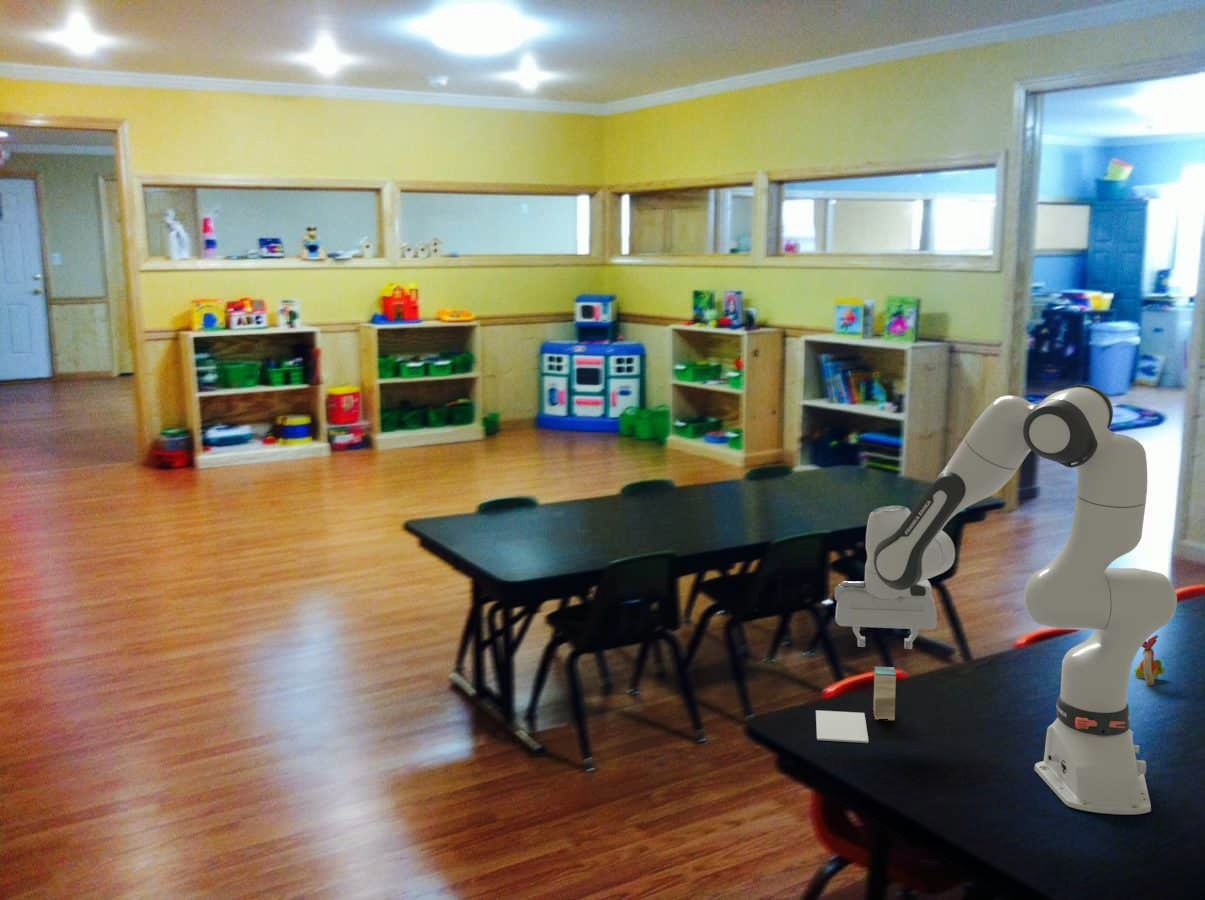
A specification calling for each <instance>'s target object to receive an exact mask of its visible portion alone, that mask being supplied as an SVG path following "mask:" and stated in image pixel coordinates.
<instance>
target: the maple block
mask: <svg viewBox="0 0 1205 900" xmlns="http://www.w3.org/2000/svg"><path fill="white" fill-rule="evenodd" d="M873 677H874V678H873V679H874V680H873V711H874V712H873V716H874V717H875V718H874V720H879V719H888V720H887V721H895V718H896V715H895V714H896V688H897V687H896V682H897V674H896V669H895V667H893V666H892V667H890V666H874V674H873Z"/></svg>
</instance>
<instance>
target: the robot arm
mask: <svg viewBox="0 0 1205 900" xmlns="http://www.w3.org/2000/svg"><path fill="white" fill-rule="evenodd" d="M1113 416H1114V409H1113V405H1112V402H1111V400H1110V399H1109V397H1108V395H1107V394H1106V393H1105V392H1103V390H1101V389H1099V388H1097V387H1094V386H1091V385H1085V384H1078V385H1077V384H1076V385H1070V386H1068V387H1065V388H1063V389H1061V390H1058V391H1055V392H1054V393H1051V394H1050V395H1048V396H1046V397H1045V398H1043V399H1042V401H1040V402H1038V403H1032V402H1030V401H1029V400H1027V399H1025V398H1023V397H1021V396H1017V395H1010V394H1009V395H1007V394H1006V395H1002V396H999V397H998V398H996V399H994V400H993V401H992V402H991V403H990V404H989V405H988V406H987V407H986V408H985V410H983V412H982V413H981V414H980V415H979V417H977V419H976V420H975V421H974V423H973V424H972V425H971V427H970V429H969V430H968V432H967V433H966V435H965V436H964V437H963V439H962V441H961V442H960V444H959V445H958V447H957V449H956V450H955V452H954V453H953V455H952V456H951V458H950V459H949V461H948V463H947V464H946V466H945V467H944V468H943V469H942V471H941V472H940V473H939V475H938V476H937V478H936V479H935V480H934V481H933V483H932V484H931V486H930V487H929V488H928V489H927V491H926V492H925V493H924V494H923V495H922V497H921V499H920V500H919V501H918V502H917V504H916V505H915V506H914V507H913V509H912V511H911V510H910V509H909V508H908V507H906V506H903V505H900V504H899V505H888V506H880V507H877V508H875V509H873V510H872V511H871V512H870V513H869V515H868V517H867V519H868V520H867V525H866V532H865V551H866V562H865V565H864V581H848V580H845V581H842V582H841V583H838V584H837V585H836V586H835V588H834V599H835V601H836V608H835V622H836V624H838V626H840V627H852V631H853V634H854V635H855V637H856V639H857V647H858V648H859V647H861V648H865V647H866V637H865V636H863V635H861V633H860V632H861V631H860V630H861V628H878V629H880V628H882V629H884V628H885V629H904V630H905V629H907V630H910V633H911V634H910V635H909V636H908V637H907V638H906V637H904V640H903V641H904V646H903V647H904V649H905V650H906V649H907V650H908V649H909V650H913V642H914V641H915V640H916V638H917V637H918V635H919V630H930V631H932V630H934V629H935V628H936V627H937V625H938V616H937V615H938V614H937V607H936V603H935V599H934V597H933V595H932V591H933V590H932V585H931V583H930V581H929V580H928V579H932V578H934V577H936V576H939V575H941V574H944V573H945V572H947V571H948V570H950V569H952V567H953V565H954V564H955V561H956V547H955V544H954V541H953V539H952V537H951V536H950V535H949V534H948V533H947V532H946V531H945V530H943V529H944V527H945V526H946V525H947V523H948V522H949V521H950V520H951V519H952V518H953V517H955V516H956V515H957V514H959V513H960V512H962V511H963V510H964V509H966V508H968V507H970V506H972V505H974V504H976V503H978V502H980V501H982V500H984V499H987V498H988V497H992V496H994V495H995V494H996V493H998V492H999V491H1000V490H1001V489H1002V488H1003V487H1004V486H1005V485H1006V484H1008V482H1010V480H1011V479H1012V478H1013V477H1014V475H1015V474H1016V472H1017V471H1018V469H1020V467H1021V465H1022V463H1023V462H1024V460H1025V459H1026V458H1027V456H1028V454H1029V453H1030V452H1031V451H1032V452H1033V453H1035V454H1036V455H1037V456H1039V457H1041V458H1043V459H1046V460H1048V461H1053V462H1055V463H1059V465H1062V466H1064V467H1066V468H1071V469H1073V468H1077V472H1078V478H1077V488H1076V495H1075V496H1076V497H1075V504H1074V510H1073V511H1074V512H1073V518H1072V522H1071V523H1072V524H1071V527H1070V528H1071V529H1070V532H1069V536H1068V538H1067V540H1066V541H1065V544H1064V545H1063V547H1062V548H1061V549H1060V551H1059V552H1058V554H1057V555H1056V556H1055V557H1054V558H1053V559H1052V560H1051V561H1050V562H1049V563H1048V564H1046V565H1045V566H1044V567H1042V568H1040V569H1039V570H1037V571H1035V572H1034V573H1032V575H1031V576H1030V577H1029V578H1028V580H1027V582H1026V584H1025V587H1024V590H1023V604H1024V607H1025V609H1026V612H1027V613H1028V615H1029V616H1030V618H1031V620H1033V621H1034V622H1035V623H1036V624H1037V625H1040V626H1046V627H1050V628H1056V629H1061V630H1094V631H1093V633H1092V634H1091V636H1089V637H1088V638H1087V639H1086V640H1085V641H1083V642H1081V643H1079V644H1077V645H1075V646H1073V647H1072V648H1070V649H1069V650H1068V651H1067V653H1065V655H1064V656H1063V659H1062V661H1061V678H1060V679H1061V680H1060V693H1059V694H1058V696H1057V701H1056V708H1055V709H1056V716H1057V717H1056V719H1055V720H1054V722H1052V723H1051V724H1050V725H1049V726H1048V727H1047V730H1046V737H1045V746H1044V756H1043V761H1039V762H1036V763H1035V764H1034V772H1036V773H1037V774H1038V776H1039V777H1040V778H1041V779H1042V780H1043V781H1044V783H1046V785H1047V786H1049V788H1050V789H1051V790H1052V791H1053V792H1054V793H1055V795H1056V796H1057V797H1058V798H1059V799H1060V800H1061V802H1063V803H1064V805H1065V806H1067V807H1068V808H1069V807H1070V808H1073V809H1076V810H1080V811H1085V812H1090V813H1091V812H1092V813H1097V814H1109V815H1142V814H1147V813H1150V812H1151V811H1152V806H1151V804H1152V803H1151V800H1150V796H1149V791H1148V786H1147V782H1146V777H1145V775H1146V772H1147V761H1146V760H1144V759H1137V757H1136V754H1139V753H1140V745H1136V744H1135V743H1134V739H1133V738H1134V731H1133V730H1131V729H1130V728H1131V727H1130V718H1131V716H1130V715H1131V714H1130V706H1129V704H1128V703H1127V701H1128V689H1129V681H1130V675H1131V669H1132V665H1133V663H1134V659H1135V657H1136V655H1138V652H1139V651H1140V650H1141V647H1142V645H1143V643H1144V642H1145V641H1146V642H1147V641H1148V640H1149V639H1150V637H1151V636H1152V635H1153V634H1154V633H1156V632H1157V631H1158V630H1160V629H1161V628H1163V627H1164V626H1166V625H1167V624H1168V623H1170V621H1171V620H1172V619H1173V617H1174V616H1175V613H1176V610H1177V606H1178V596H1177V593H1176V589H1175V587H1174V585H1173V584H1172V582H1171V581H1170V579H1169V578H1168V577H1167V576H1166V575H1165V574H1163V573H1161V572H1157V571H1153V570H1147V569H1141V568H1135V567H1134V568H1132V567H1131V568H1130V567H1124V568H1123V567H1119V568H1118V567H1117V568H1116V567H1114V568H1113V567H1112V568H1111V567H1109V566H1111V564H1112V563H1113V562H1114V561H1116V560H1117V559H1119V558H1120V557H1122V556H1125V555H1127V554H1129V553H1130V552H1132V551H1134V549H1136V548H1137V546H1138V545H1139V543H1140V541H1141V539H1142V535H1143V528H1144V527H1143V526H1144V518H1145V512H1146V504H1147V496H1148V495H1147V494H1148V462H1147V454H1146V453H1147V452H1146V449H1145V447H1144V446H1143V444H1141V442H1139V440H1137V439H1135V438H1133V437H1132V436H1131V437H1130V436H1129V435H1125V434H1120V433H1118V434H1117V433H1115V432H1113V431H1111V430H1110V426H1111V425H1112V422H1113V418H1114V417H1113Z"/></svg>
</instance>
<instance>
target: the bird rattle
mask: <svg viewBox="0 0 1205 900" xmlns="http://www.w3.org/2000/svg"><path fill="white" fill-rule="evenodd" d="M1158 638H1159V635H1158V634H1157V635H1154V636H1153V637H1151V638H1148V639H1147V640H1146V641H1145V642H1144V643H1143V645H1142V646H1141V647H1142V648H1143V649H1144V650H1143V652H1142V656H1143V658H1142V659H1143V660H1141V661H1140V663H1139V664H1138V665H1137V667H1136V668H1135V669H1134V673H1135V677H1136V678H1137V679H1139V680H1140V679H1143V678H1144V680H1145V683H1146V686H1149V687H1151V686H1152V687H1153V685H1154V684H1155V682H1154V681H1155V680H1158V678H1159V675H1164V674H1165V672H1166V669H1165V668H1164V667H1163V664H1162V661H1161V660H1160V659H1158V658H1156V659H1155V657H1154V656H1155V652H1154V649H1152V648H1153V646H1154V645H1155V644H1156V643H1157V639H1158Z"/></svg>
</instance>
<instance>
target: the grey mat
mask: <svg viewBox="0 0 1205 900" xmlns="http://www.w3.org/2000/svg"><path fill="white" fill-rule="evenodd" d="M865 715H866V714H865V712H853V711H833V710H815V722H816V725H815V726H816V740H817V741H824V742H825V741H827V742H828V741H830V742H844V743H845V742H846V743H860V744H861V743H862V744H869V736H868V735H869V734H868V729H867V721H866V716H865Z"/></svg>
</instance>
